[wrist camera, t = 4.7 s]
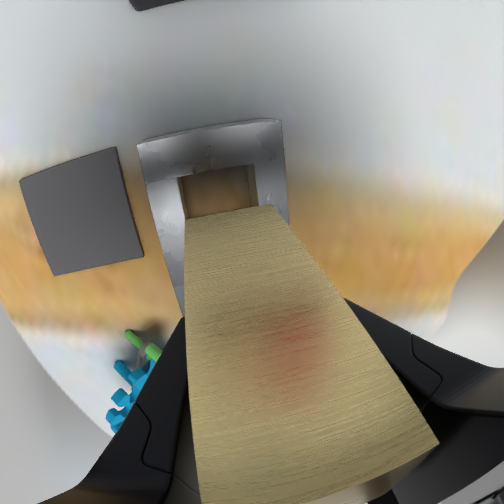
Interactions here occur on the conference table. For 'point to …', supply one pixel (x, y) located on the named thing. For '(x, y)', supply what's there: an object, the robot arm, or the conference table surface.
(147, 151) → the grey cinder block
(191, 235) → the brass peg
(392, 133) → the conference table surface
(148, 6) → the calculator
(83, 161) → the rubber pad
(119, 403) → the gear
